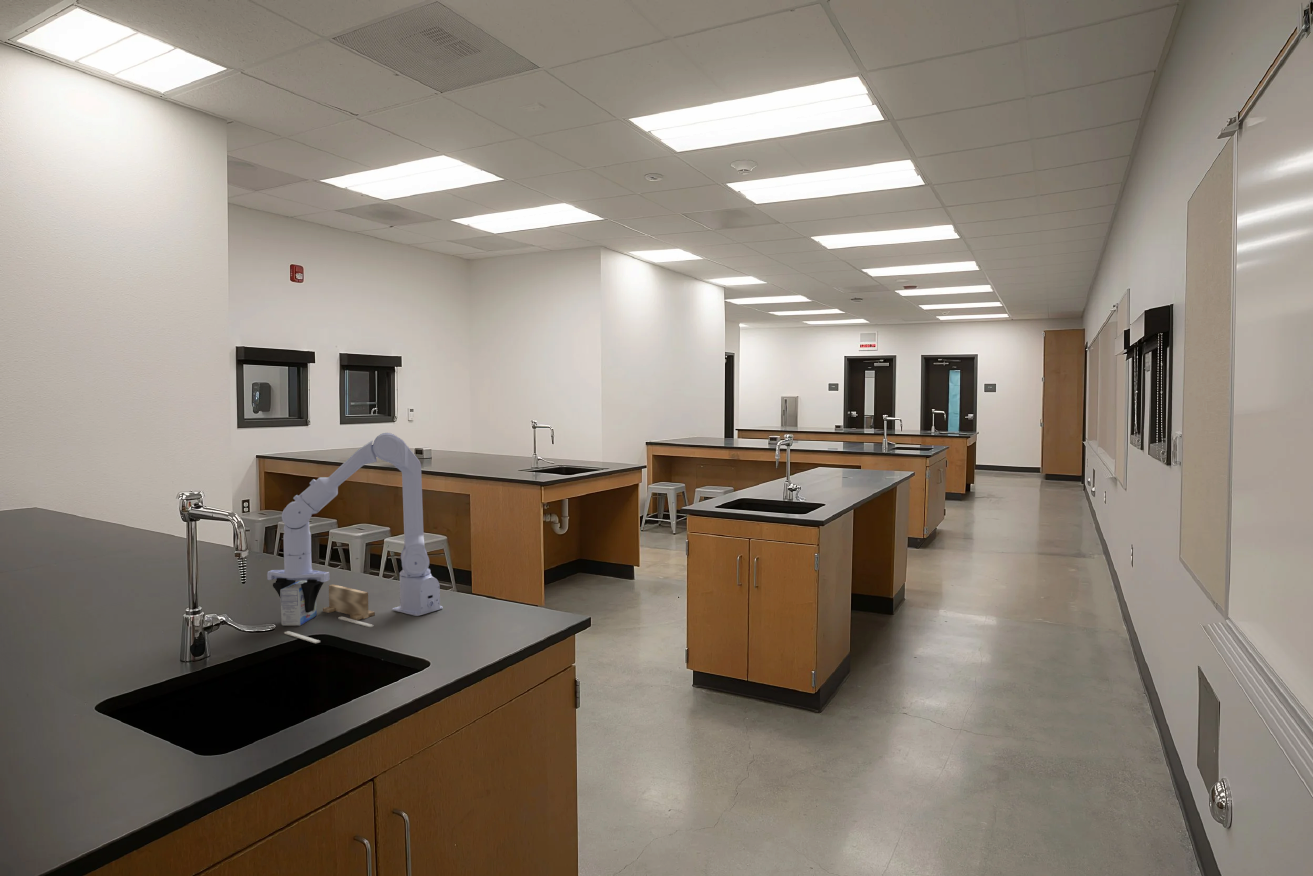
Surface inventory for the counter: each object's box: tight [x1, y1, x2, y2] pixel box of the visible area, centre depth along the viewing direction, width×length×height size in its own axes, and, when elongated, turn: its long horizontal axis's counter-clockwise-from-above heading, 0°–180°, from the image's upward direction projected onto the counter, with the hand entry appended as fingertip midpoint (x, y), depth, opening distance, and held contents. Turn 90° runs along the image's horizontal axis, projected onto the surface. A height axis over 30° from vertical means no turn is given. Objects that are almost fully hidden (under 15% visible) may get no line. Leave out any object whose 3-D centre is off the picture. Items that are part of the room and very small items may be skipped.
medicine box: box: [280, 580, 318, 627], centre depth 169 cm, size 8×4×9 cm, turn 178°
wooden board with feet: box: [322, 584, 376, 621], centre depth 175 cm, size 14×5×6 cm, turn 57°
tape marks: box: [283, 616, 374, 644], centre depth 162 cm, size 12×14×1 cm
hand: (299, 610), depth 169 cm, fingers closed on medicine box, 5 cm apart
